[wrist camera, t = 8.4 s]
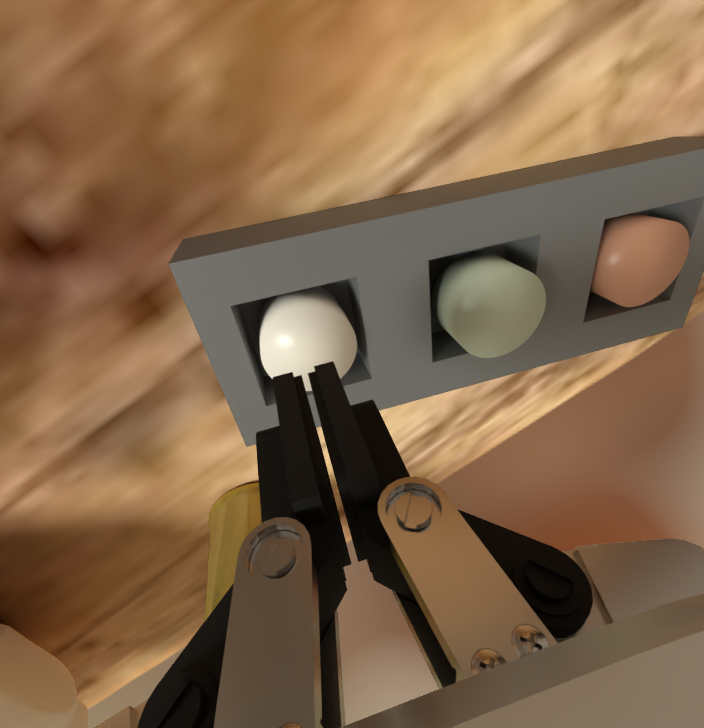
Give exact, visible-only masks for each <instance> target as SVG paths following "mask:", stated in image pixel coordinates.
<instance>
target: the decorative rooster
mask: <svg viewBox="0 0 704 728" xmlns="http://www.w3.org/2000/svg"><path fill="white" fill-rule="evenodd" d="M87 726H88V709H87V707H86V706H85V705H84V704H83V703H82V702H81V701H80V700H79V699H78V698H77V690H76V685H75V681H74V679H73V677H72V675H71V673H70V672H69V670H68V669H67V668H66V667H65V666H64V664H63V663H62V662H60V661H59V660H58V659H57V658H56V657H55V656H53V655H52V654H50V653H49V652H47V651H46V650H44V649H43V648H41V647H39V646H37V645H36V644H34V643H33V642H31V641H30V640H28V639H27V638H25V637H24V636H22V635H21V634H20V633H18V632H17V631H16V630H14V629H13V628H11V627H10V626H8V625H3V624H0V728H87Z"/></svg>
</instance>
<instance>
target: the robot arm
mask: <svg viewBox="0 0 704 728" xmlns="http://www.w3.org/2000/svg"><path fill="white" fill-rule="evenodd" d="M314 369H315V372H311V373H308V376H309V380H310V384H311V388H312V392H313V396H314V399H315V403H316V407H317V411H318V415H319V418H320V422H321V426H322V430H323V434H324V437H325V441H326V445H327V449H328V452H329V456H330V460H331V463H332V467H333V471H334V474H335V478H336V482H337V485H338V489H339V493H340V496H341V500H342V504H343V507H344V511H345V515H346V518H347V522H348V526H349V529H350V533H351V537H352V540H353V544H354V547H355V551H356V555H357V558H358V561H362V560H365V559H367V562H368V565H369V568H370V572H372V574H373V578H374V580H375V581H377V582H378V583H380V584H382V585H384V586H386V587H388V588H389V589H391V590H392V592H393V595H394V597H395V599H396V601H397V603H398V606H399V608H400V610H401V612H402V614H403V616H404V618H405V620H406V622H407V624H408V626H409V628H410V630H411V632H412V634H413V636H414V638H415V640H416V642H417V644H418V647H419V648H420V651H421V653H422V655H423V657H424V659H425V661H426V663H427V665H428V667H429V669H430V671H431V673H432V675H433V677H434V679H435V681H436V684H437V686H438V688H439V690H436V691H433V692H431V693H428V694H426V695H423V696H421V697H418V698H416V699H413V700H410V701H408V702H405V703H403V704H400V705H398V706H395V707H392V708H390V709H387V710H385V711H382V712H379V713H377V714H374V715H372V716H369V717H367V718H364V719H362V720H359V721H356V722H354V723H351V724H349V725H345V710H344V695H343V682H342V666H341V652H340V638H339V637H340V636H339V623H338V612H337V607H338V605H339V604H340V602H341V600H342V598H343V596H344V594H345V592H346V591H347V588H346V583H345V581H346V578H345V573H344V569H343V567H344V566H347V565H350V564H351V561H350V557H349V553H348V549H347V545H346V541H345V537H344V533H343V529H342V525H341V522H340V518H339V514H338V510H337V506H336V502H335V498H334V494H333V490H332V487H331V483H330V479H329V475H328V471H327V467H326V463H325V459H324V455H323V452H322V448H321V444H320V440H319V437H318V433H317V430H316V426H315V422H314V419H313V415H312V411H311V408H310V404H309V400H308V397H307V393H306V390H305V386H304V382H303V379H302V375H300V376H296V377H294V375H293V372H290V373H286V374H283V375H279V376H275V377H273V384H274V391H275V398H276V405H277V412H278V419H279V426H276V427H273V428H269V429H266V430H262V431H258V432H256V447H257V462H258V476H259V491H260V505H261V520H262V523H261V524H260V525H258V526H257V527H255V528H254V529H253V530H252V531H251V532H250V533H249V534H248V535H247V537H246V538H245V540H244V542H243V543H242V545H241V547H240V550H239V554H238V557H237V564H236V571H235V578H234V583H233V584H232V586H231V587H230V588H229V590H228V591H227V592H226V594H225V595H224V597H223V598H222V599H221V601H220V602H219V603H218V605H217V606H216V607H215V609H214V610H213V611H212V613H211V614H210V615H209V617H208V618H207V619H206V621H205V622H204V623H203V625H202V626H201V627H200V629H199V630H198V631H197V633H196V634H195V635H194V637H193V638H192V639H191V641H190V642H189V643H188V645H187V646H186V647H185V649H184V650H183V652H182V653H181V654H180V656H179V657H178V658H177V660H176V661H175V662H174V664H173V665H172V666H171V668H170V669H169V670H168V672H167V673H166V674H165V676H164V677H163V678H162V680H161V681H160V682H159V684H158V685H157V686H156V688H155V690H154V691H153V693H152V694H151V696H150V698H149V699H148V700H146V701H145V702H143V703H141V704H140V705H138V706H137V707H135V708H133V707H131V706H128V707H126V708H125V709H123V710H121V711H120V712H118V713H117V714H115V715H114V716H112V717H110V718H109V719H107V720H105V721H104V722H102V723H101V724H99V725H98V726H96V727H94V728H704V549H703V548H702V547H700V546H698V545H695V544H692V543H690V542H687V541H684V540H676V539H660V540H647V541H635V542H623V543H610V544H597V545H585V546H576V547H575V550H574V551H559V550H558V549H556V548H554V547H552V546H549V545H547V544H544V543H542V542H539V541H536V540H534V539H531V538H529V537H526V536H524V535H521V534H519V533H516V532H513V531H511V530H508V529H506V528H503V527H501V526H498V525H495V524H493V523H491V522H488V521H486V520H483V519H481V518H478V517H476V516H473V515H470V514H468V513H465V512H463V511H460V510H457V509H456V507H455V506H454V505H453V504H452V502H451V501H450V500H449V498H448V497H447V496H446V494H445V493H444V492H443V491H442V490H441V489H440V488H439V487H438V486H437V485H436V484H434V483H433V482H431V481H429V480H427V479H423V478H419V477H410V476H409V473H408V471H407V469H406V467H405V465H404V463H403V461H402V459H401V457H400V454H399V452H398V450H397V448H396V446H395V444H394V442H393V440H392V438H391V435H390V433H389V431H388V429H387V427H386V425H385V423H384V421H383V419H382V417H381V414H380V412H379V410H378V408H377V406H376V404H375V402H374V401H373V400H369V401H365V402H362V403H358V404H354V405H350V403H349V400H348V398H347V395H346V393H345V390H344V387H343V385H342V382H341V380H340V377H339V375H338V372H337V369H336V367H335V364H334V362H333V361H332V362H328V363H324V364H320V365H317V366H314Z"/></svg>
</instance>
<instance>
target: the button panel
mask: <svg viewBox="0 0 704 728" xmlns="http://www.w3.org/2000/svg"><path fill="white" fill-rule="evenodd" d="M631 213H638V214H643V215H647V216H652V217H657V218H661V219H666V220H671V221H675V222H678V223H681V224H682V225H683V226H684V227H685V228H686V230H687V232H688V235H689V241H690V242H689V251H688V255H687V258H686V260H685V263H684V265H683V267H682V269H681V270H680V272H679V274H678V275H677V277H676V278H675V279H674V281H673V282H672V283H671V284H670V285H669V286H668V287H667V288H666V289H665V290H664V291H663V292H662V293H661V294H659V295H658V296H657V297H655V298H654V299H652V300H651V301H649V302H647V303H645V304H642V305H639V306H635V307H624V306H621V305H619V304H616V303H614V302H612V301H610V300H608V299H606V298H604V297H602V296H599V295H597V294H595V293H593V292H591V291H590V287H591V282H592V278H593V273H594V268H595V263H596V258H597V254H598V249H599V244H600V239H601V234H602V230H603V225H604V220H605V219H609V218H613V217H618V216H622V215H626V214H631ZM475 251H487V252H491V253H494V254H496V255H498V256H500V257H502V258H504V259H506V260H508V261H510V262H512V263H514V264H516V265H518V266H520V267H522V268H524V269H526V270H528V271H530V272H532V273H533V274H535V275H536V276H537V277H538V278H539V279H540V280H541V282H542V284H543V286H544V289H545V293H546V305H545V310H544V314H543V317H542V319H541V321H540V323H539V325H538V327H537V328H536V330H535V331H534V332H533V334H532V335H531V336H530V337H529V338H528V339H527V340H526V341H525V342H524V343H523V344H522V345H520V346H519V347H518V348H516V349H515V350H513V351H511V352H509V353H507V354H505V355H502V356H499V357H494V358H480V357H476V356H474V355H472V354H470V353H468V352H467V351H466V350H465V349H464V348H463V347H462V346H461V345H460V344H459V343H458V342H457V341H456V340H455V339H454V338H453V337H452V336H451V335H450V334H449V333H448V332H447V331H446V330H445V329H444V328H443V327H442V326H441V325H440V324H439V323H438V322H437V320H436V319H435V317H434V314H433V311H432V306H431V298H432V292H433V289H434V286H435V283H436V281H437V279H438V278H439V276H440V275H441V273H442V272H443V271H444V269H445V268H446V267H447V266H448V265H449V264H450V263H451V262H453V261H454V260H455V259H457V258H459V257H460V256H462V255H465V254H467V253H470V252H475ZM169 266H170V268H171V271H172V273H173V275H174V278H175V280H176V282H177V285H178V287H179V289H180V292H181V294H182V297H183V299H184V301H185V304H186V306H187V308H188V311H189V313H190V315H191V318H192V320H193V322H194V325H195V327H196V329H197V332H198V334H199V336H200V339H201V341H202V343H203V346H204V348H205V350H206V353H207V355H208V357H209V360H210V362H211V365H212V367H213V369H214V372H215V374H216V376H217V379H218V381H219V383H220V386H221V388H222V390H223V393H224V395H225V397H226V400H227V402H228V404H229V407H230V409H231V411H232V414H233V416H234V418H235V421H236V423H237V425H238V428H239V430H240V432H241V435H242V437H243V440H244V442H245V444H246V447H247V446H251V445H255V444H256V432H258V431H262V430H266V429H269V428H273V427H276V426H279V419H278V412H277V405H276V398H275V391H274V384H273V379H272V378H271V377H270V376H269V375H268V374H267V372H266V370H265V369H264V367H263V364H262V361H261V355H260V340H259V317H260V313H261V310H262V308H263V306H264V304H265V303H266V301H267V300H268V299H269V298H270V297H272V296H276V295H281V294H285V293H289V292H294V291H298V290H302V289H307V288H311V287H315V286H319V287H322V288H324V289H325V290H327V291H328V292H330V293H331V294H332V295H333V296H334V297H335V298H336V299H337V300H338V302H339V304H340V305H341V307H342V309H343V311H344V313H345V315H346V317H347V319H348V320H349V322H350V324H351V326H352V328H353V330H354V333H355V335H356V340H357V352H356V356H355V359H354V362H353V364H352V366H351V367H350V369H349V370H348V372H347V373H346V374H345V375H344V376H343V377H342V378H341V379H340V380H341V382H342V385H343V387H344V390H345V393H346V395H347V398H348V400H349V403H350V405H354V404H358V403H362V402H365V401H369V400H373V401H374V402H375V404H376V406H377V408H378V410H382V409H386V408H390V407H393V406H397V405H401V404H404V403H408V402H412V401H415V400H419V399H423V398H426V397H430V396H433V395H437V394H441V393H444V392H448V391H452V390H455V389H459V388H463V387H466V386H470V385H474V384H477V383H481V382H485V381H488V380H492V379H495V378H499V377H503V376H506V375H510V374H514V373H517V372H521V371H525V370H528V369H532V368H536V367H539V366H543V365H547V364H550V363H554V362H557V361H561V360H565V359H568V358H572V357H576V356H579V355H583V354H587V353H590V352H594V351H598V350H601V349H605V348H609V347H612V346H616V345H619V344H623V343H627V342H630V341H634V340H638V339H641V338H645V337H649V336H652V335H656V334H660V333H663V332H667V331H671V330H674V329H678V328H682V327H683V325H684V322H685V320H686V317H687V314H688V312H689V309H690V306H691V304H692V301H693V298H694V296H695V293H696V290H697V287H698V285H699V282H700V279H701V277H702V274H703V271H704V137H672V138H667V139H662V140H657V141H653V142H648V143H643V144H638V145H633V146H629V147H624V148H619V149H614V150H609V151H605V152H600V153H595V154H590V155H586V156H581V157H576V158H571V159H566V160H562V161H557V162H552V163H547V164H543V165H538V166H533V167H528V168H523V169H519V170H514V171H509V172H504V173H499V174H495V175H490V176H485V177H480V178H476V179H471V180H466V181H461V182H456V183H452V184H447V185H442V186H437V187H432V188H428V189H423V190H418V191H413V192H409V193H404V194H399V195H394V196H389V197H385V198H380V199H375V200H370V201H365V202H361V203H356V204H351V205H346V206H342V207H337V208H332V209H327V210H322V211H318V212H313V213H308V214H303V215H298V216H294V217H289V218H284V219H279V220H275V221H270V222H265V223H260V224H255V225H251V226H246V227H241V228H236V229H231V230H227V231H222V232H217V233H212V234H208V235H203V236H198V237H193V238H188V239H184V240H182V242H181V244H180V245H179V247H178V249H177V250H176V252H175V254H174V255H173V257H172V259H171V261H170V262H169ZM306 393H307V397H308V400H309V404H310V408H311V411H312V415H313V419H314V422H315V426H316V428H317V427H320V426H321V422H320V418H319V415H318V411H317V407H316V403H315V399H314V396H313V392H312V391H306Z"/></svg>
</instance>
